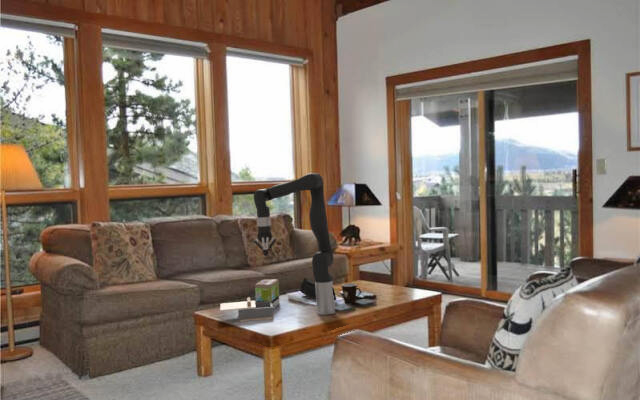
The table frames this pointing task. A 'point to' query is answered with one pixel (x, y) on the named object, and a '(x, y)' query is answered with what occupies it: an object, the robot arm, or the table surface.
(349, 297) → the coffee mug
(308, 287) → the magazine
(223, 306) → the lid
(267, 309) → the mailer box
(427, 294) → the table surface
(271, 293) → the tea box
